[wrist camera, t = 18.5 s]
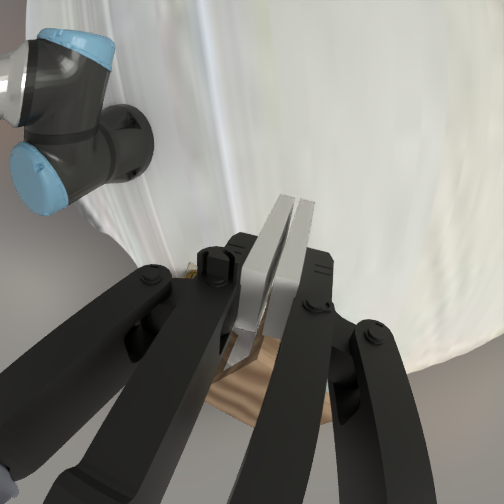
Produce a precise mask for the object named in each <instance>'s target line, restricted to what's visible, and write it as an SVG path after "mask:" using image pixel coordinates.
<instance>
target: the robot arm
mask: <svg viewBox="0 0 504 504" xmlns="http://www.w3.org/2000/svg"><path fill="white" fill-rule="evenodd" d="M114 52H115V44H114V42H113V41H112V40H111V39H110V38H107V37H104V36H101V35H97V34H92V33H87V32H82V31H75V30H63V29H55V28H45V29H42V30H41V31H40V32H39V34H38V35H37V39H35V40H25V41H24V42H22V43H21V44H20V45H19V46H18V47H17V48H16V49H15V50H14V51H12V52H11V53H8V54H2V55H0V119H3V120H6V121H7V122H8V123H9V124H10V125H11V126H12V127H14V128H17V127H22V126H24V141H23V142H20V143H18V144H17V146H15V147H14V148H13V150H12V153H11V155H10V171H11V177H12V180H13V183H14V186H15V188H16V190H17V192H18V194H19V196H20V198H21V199H22V201H23V202H24V203H25V205H26V206H27V207H28V208H29V209H30V210H31V211H33V212H34V213H36V214H38V215H41V216H48V215H51V214H53V213H55V212H57V211H58V210H60V209H64V208H66V207H67V206H68V205H70V204H71V203H73V202H75V201H76V200H78V199H80V198H81V197H83V196H84V195H86V194H88V193H89V192H91V191H93V190H95V189H96V188H98V187H100V186H101V185H103V184H109V183H124V182H128V181H130V180H132V179H134V178H136V177H138V176H140V175H141V174H142V173H143V172H144V171H145V170H146V169H147V167H148V166H149V164H150V162H151V159H152V156H153V150H154V138H153V133H152V129H151V126H150V124H149V122H148V120H147V119H146V117H145V116H144V115H143V114H142V112H140V111H139V110H138V109H137V108H135V107H133V106H130V105H126V104H120V105H115V106H110V107H108V108H105V109H104V110H102V106H103V101H104V96H105V92H106V87H107V83H108V79H109V75H110V72H112V68H111V65H112V61H113V56H114ZM294 200H295V197H291V196H287V195H282V194H280V195H279V197H278V199H277V201H276V203H275V205H274V207H273V209H272V211H271V213H270V215H269V217H268V218H267V220H266V222H265V224H264V226H263V228H262V230H261V232H260V234H259V236H255V235H251V234H246V233H242V232H239V233H237V234H235V235H234V236H232V237H231V238H230V240H229V241H228V243H227V245H226V246H225V247H218V246H214V247H207V248H205V249H202V250H201V251H199V252H198V253H197V275H196V277H195V278H187V279H184V278H172V275H171V273H170V270H169V269H167V268H166V267H164V266H161V265H157V264H150V265H145V266H142V267H140V268H138V269H137V270H135V271H134V272H132V273H131V274H129V275H128V276H127V277H125V278H124V279H122V280H121V281H119V282H118V283H117V284H115V285H114V286H112V287H111V288H110V289H108V290H107V291H105V292H104V293H103V294H101V295H100V296H98V297H97V298H96V299H94V300H93V301H92V302H90V303H89V304H88V305H86V306H85V307H83V308H82V309H81V310H79V311H78V312H77V313H76V314H74V315H73V316H71V317H70V318H69V319H68V320H66V321H65V322H64V323H62V324H61V325H60V326H58V327H57V328H56V329H54V330H53V331H52V332H51V333H49V334H48V335H47V336H45V337H44V338H43V339H42V340H41V341H39V342H38V343H37V344H35V345H34V346H33V347H32V348H31V349H29V350H28V351H27V352H25V353H24V354H23V355H22V356H21V357H19V358H18V359H17V360H16V361H15V362H13V363H12V364H11V365H10V366H9V367H7V368H6V369H5V370H4V371H3V372H2V373H0V504H4V503H6V502H7V501H8V500H9V499H11V497H13V498H15V497H17V496H18V494H19V489H18V486H17V485H16V483H15V481H18V480H20V479H23V478H25V477H27V476H28V475H30V474H32V473H33V472H35V471H36V470H37V469H38V468H40V467H41V466H42V465H43V464H44V463H45V462H46V461H47V460H48V459H49V458H50V457H52V456H53V455H54V453H56V452H57V451H58V450H59V449H60V448H61V447H62V446H63V445H64V444H65V443H66V442H67V441H68V440H69V439H70V438H71V437H72V436H73V435H74V434H75V433H76V432H77V431H78V430H79V429H81V428H82V427H83V425H85V424H86V423H87V422H88V421H89V420H90V419H91V418H92V417H93V416H94V415H95V414H96V413H97V412H98V411H99V410H100V409H101V408H102V407H103V406H104V405H105V404H106V403H107V402H108V401H109V400H110V399H111V398H112V397H113V396H114V395H115V394H116V393H118V392H119V390H120V389H122V388H123V386H125V387H124V389H123V390H122V392H121V394H120V395H119V397H118V399H117V400H116V402H115V404H114V405H113V407H112V409H111V410H110V412H109V414H108V415H107V417H106V419H105V420H104V422H103V424H102V425H101V427H100V429H99V431H98V433H97V434H96V436H95V437H94V439H93V441H92V443H91V444H90V446H89V448H88V450H87V451H86V453H85V455H84V457H83V458H82V460H81V461H80V463H79V464H78V465H76V466H75V467H72V468H69V469H66V470H65V471H64V472H62V473H61V474H60V475H59V476H58V477H57V479H56V480H55V482H54V483H53V485H52V487H51V489H50V491H49V493H48V494H47V496H46V498H45V500H44V502H43V504H160V503H161V500H162V498H163V496H164V494H165V491H166V489H167V487H168V484H169V482H170V480H171V477H172V475H173V473H174V470H175V468H176V466H177V464H178V462H179V459H180V457H181V455H182V452H183V450H184V448H185V445H186V443H187V441H188V438H189V436H190V434H191V431H192V429H193V427H194V424H195V422H196V419H197V417H198V415H199V413H200V410H201V408H202V405H203V403H204V401H205V398H206V396H207V394H208V391H209V389H210V386H211V384H212V382H213V379H214V377H215V374H216V372H217V370H218V367H219V365H220V362H221V360H222V358H223V355H224V353H225V350H226V348H227V345H228V343H229V341H230V338H231V331H232V327H233V325H234V322H235V320H236V322H235V327H237V328H240V329H244V330H247V331H251V332H255V331H256V328H257V326H258V323H259V320H260V317H261V314H262V312H263V309H264V306H265V303H266V300H267V297H268V294H269V291H270V288H271V286H272V283H273V287H272V292H271V296H270V301H269V305H268V310H267V314H266V319H265V323H264V328H263V332H262V335H266V336H269V337H273V338H277V339H281V340H282V341H281V344H280V347H279V350H278V354H277V357H276V360H275V364H274V367H273V371H272V374H271V377H270V381H269V384H268V387H267V390H266V393H265V397H264V400H263V403H262V406H261V409H260V412H259V415H258V418H257V421H256V424H255V427H254V430H253V433H252V436H251V439H250V442H249V445H248V448H247V450H246V453H245V456H244V459H243V462H242V464H241V467H240V470H239V473H238V475H237V478H236V481H235V484H234V486H233V489H232V492H231V494H230V496H229V499H228V502H227V504H302V503H303V498H304V495H305V491H306V487H307V483H308V479H309V475H310V471H311V467H312V462H313V457H314V453H315V448H316V443H317V438H318V433H319V427H320V422H321V417H322V411H323V405H324V399H325V392H326V385H327V382H328V389H329V397H330V405H331V413H332V422H333V430H334V440H335V450H336V460H337V472H338V486H339V501H340V504H437V501H436V494H435V487H434V482H433V476H432V471H431V466H430V460H429V456H428V451H427V447H426V442H425V438H424V434H423V430H422V426H421V422H420V418H419V414H418V411H417V407H416V404H415V400H414V397H413V394H412V390H411V387H410V384H409V380H408V377H407V374H406V371H405V368H404V365H403V362H402V359H401V356H400V353H399V351H398V348H397V345H396V342H395V339H394V337H393V334H392V333H391V331H390V329H389V328H387V327H386V326H385V325H384V324H382V323H381V322H379V321H376V320H371V319H367V320H362V321H361V322H359V323H358V324H357V325H355V324H353V323H351V322H349V321H347V320H346V319H344V318H342V317H341V316H340V315H339V314H338V313H337V312H336V311H335V308H334V304H333V303H332V285H333V264H334V261H333V259H332V257H331V255H330V254H329V253H328V252H324V251H320V250H316V249H312V248H308V247H307V243H308V238H309V233H310V227H311V222H312V216H313V211H314V205H315V202H312V201H308V200H304V199H300V201H299V204H298V207H297V210H296V213H295V216H294V219H293V223H292V226H291V229H290V232H289V235H288V230H289V225H290V220H291V215H292V210H293V205H294ZM287 235H288V238H287ZM286 239H287V241H286ZM274 277H275V278H274ZM273 280H274V282H273ZM327 379H328V381H327Z"/></svg>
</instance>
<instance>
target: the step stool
mask: <svg viewBox="0 0 504 504" xmlns="http://www.w3.org/2000/svg"><path fill="white" fill-rule="evenodd" d="M270 296H271V294H270ZM269 301H270V297H269V300H268V303H267V306H266V309H265V312H264V315H263V318H262V321H261V324H260V326H259V329H258V332H257V335H256V338H255V341H254V343H253V346H252V349H251V352H250V355H249V357H247V358H245V359H244V360H242V361H240V362H238V363H237V364H235V365H233V366H232V367H230V368H228V369H226V370H225V371H223V370H224V367H225V365H226V363H227V360H228V358H229V356H230V353H231V351H232V348H233V346H234V344H235V341H236V339H237V336H238V335H237V334H235V333H234V332H232V331H231V338H230V341H229V343H228V345H227V348H226V350H225V353H224V355H223V358H222V360H221V362H220V365H219V367H218V370H217V372H216V374H215V377H214V379H213V382H212V384H211V386H210V389H209V391H208V394H207V396H206V398H205V402H207V403H209V404H210V405H212V406H214V407H216V408H217V409H219V410H221V411H223V412H225V413H226V414H228V415H230V416H232V417H234V418H236V419H238V420H239V421H241V422H243V423H245V424H247V425H249V426H251V427H253V428H254V427H255V424H256V421H257V418H258V415H259V412H260V409H261V406H262V403H263V400H264V397H265V393H266V390H267V387H268V384H269V381H270V377H271V374H272V371H273V367H274V364H275V360H276V355H277V351H278V348H279V344H280V340H281V339H277V338H273V337H269V336H266V335H262V332H263V328H264V323H265V319H266V314H267V310H268V305H269ZM331 421H332V413H331V405H330V397H329V393H328V392H327V391H326V392H325V399H324V405H323V411H322V417H321V422H320V425H321V424H325V423H328V422H331Z"/></svg>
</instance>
